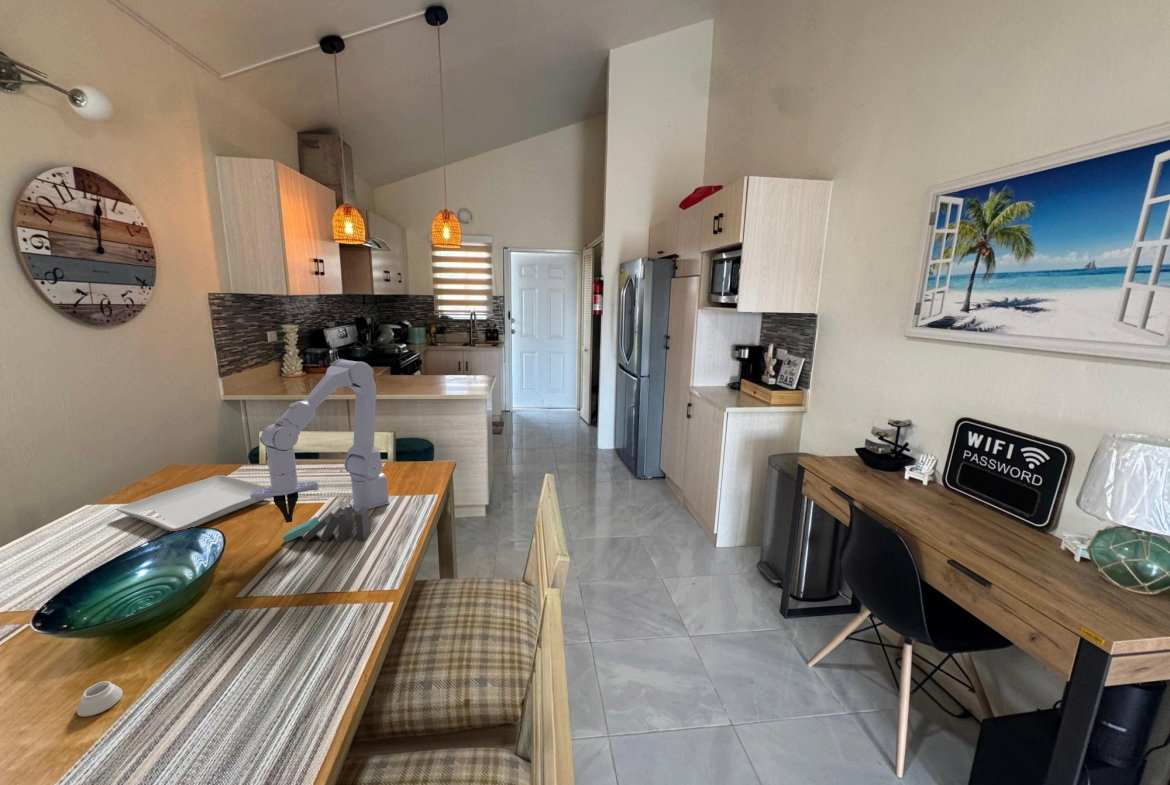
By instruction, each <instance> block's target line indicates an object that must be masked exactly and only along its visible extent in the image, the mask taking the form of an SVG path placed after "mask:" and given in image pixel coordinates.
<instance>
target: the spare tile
mask: <svg viewBox="0 0 1170 785" xmlns="http://www.w3.org/2000/svg"><path fill="white" fill-rule="evenodd" d="M320 521H321V520H319V518H318V517H317V516H314V517H313V518H311V519H309V520H307V521H305V522H303V523H301V524H299V525H296V526H294V527H293V528H290V530H289V531H287V532H286V533H285V534H284V535H283V536H282V539H283V541H284V542H285V543H288V542H289V541H292V540H294V539H295V538H296V539H297V537H299V536H302V535H304V534H307V533H308V532H309V531H310V530H312V529H313V528H314V527H315V526H316V525H317V524H318V523H319V522H320Z"/></svg>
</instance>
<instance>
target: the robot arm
mask: <svg viewBox="0 0 1170 785" xmlns="http://www.w3.org/2000/svg"><path fill="white" fill-rule="evenodd" d="M343 387H348V388H350V389H351V390H352V391H353V392H354V393H355V395H354V396H355V398H354V399H355V400H354V401H355V402H354V421H353V422H354V423H353V425H354V426H353V445H352V446H351V447H350V448H348V449H347V456H346V459H345V460H344V469H345V472H347V473H349V477H350V479H351V492H352V500H350V501H349V502H348V503H349V505H350V507H352V509H353V510H354V511H355V513H357V512H358V511H359V510H360V509H361V508H362V507H368V510H371V509H375V508H377V507H382V506H386V505H388V503H389V504H390V500H389V488H388V480H387V476H386V474H385V473H384V472H383V462H382V459H381V452H380V451H379V450H378V448H377V447H376V446H375V431H376V430H375V429H376V428H375V427H376V406H377V384H376V381H375V378H374V368H372V367H371V366H370V365H369V364H368V363H366V362H365V361H354V360H348V359H344V358H339V359H336V360H335V361H333V363H332V365H330V366H328V368H327V369H326V372H325V375H324V376H323V377H322V378H321V380H319V381H318V383H317V384H316V385H315V387H313V388H312V390H311V391H310V392H309V394H307V396H306V397H305V398H304V399H303V400H298V401H295V402H291V403H290V404H289V405H288V409H287V410H286V411H285V412H284V413H283V414H281V416H280V417H279V418H277V419H275V421H274V423H271V424H269V425H267V426H266V427H265V428H264V429H263V430H262V433H261V436H259V438H258V439H259V441H260V443H261V444H262V445H263V446H264V447H265V450H266V455H267V456H266V457H267V463H268V464H267V465H268V471H269V479H270V480H269V481H270V486H268V487H269V488H266V489H262V490H258V491H254V492H251V493H250V497H251V502H254V501H257V500H260V499H263V500H266V499H269V498H273V503H274V504H275V507H277V508H278V510H279V511H280V512H281V514H282V516H283V517H284V520H285V523H286V524H287V523H292V522H293V515H294V510H295V507H296V505H297V502H298V500H299V493H304V492H309V491H314V492H317V491H319V483H318V480H313V481H302V482H301V481H298V473H297V465H296V456H295V450H294V449H295V448H294V446H296V445H297V443H298V441H299V435H300V434H301V432H302V431H303V429H305V427H306V426H307V425H308V424H309V423H310V422H311V421H312V420H313V419H314V418H315V417H316V413H317V412H316V409H317V407H319V406H320V405H321V404H322V403H323V402H324V401H325V400H326V399H327V398H328V397H330V396H331V394H332V393H334V392H335V391H336V390H337V389H338V388H343ZM385 504H386V505H385Z"/></svg>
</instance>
